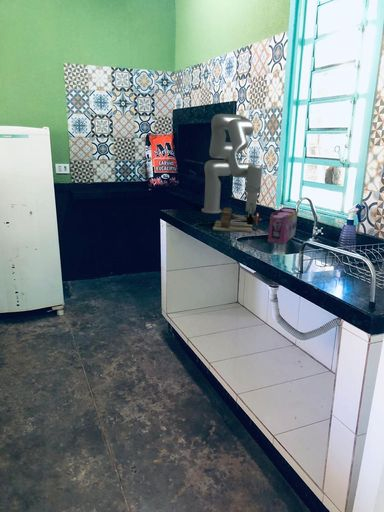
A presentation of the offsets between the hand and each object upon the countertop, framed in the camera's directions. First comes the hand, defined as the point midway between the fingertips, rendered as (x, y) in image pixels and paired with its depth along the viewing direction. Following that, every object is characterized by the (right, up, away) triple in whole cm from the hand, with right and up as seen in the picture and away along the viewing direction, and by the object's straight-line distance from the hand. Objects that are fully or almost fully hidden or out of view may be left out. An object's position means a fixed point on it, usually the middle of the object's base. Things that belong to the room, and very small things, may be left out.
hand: (250, 223), depth 216 cm
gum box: (+13, -9, -16) cm, 22 cm away
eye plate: (-9, -2, +2) cm, 9 cm away
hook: (-4, 0, +1) cm, 4 cm away
